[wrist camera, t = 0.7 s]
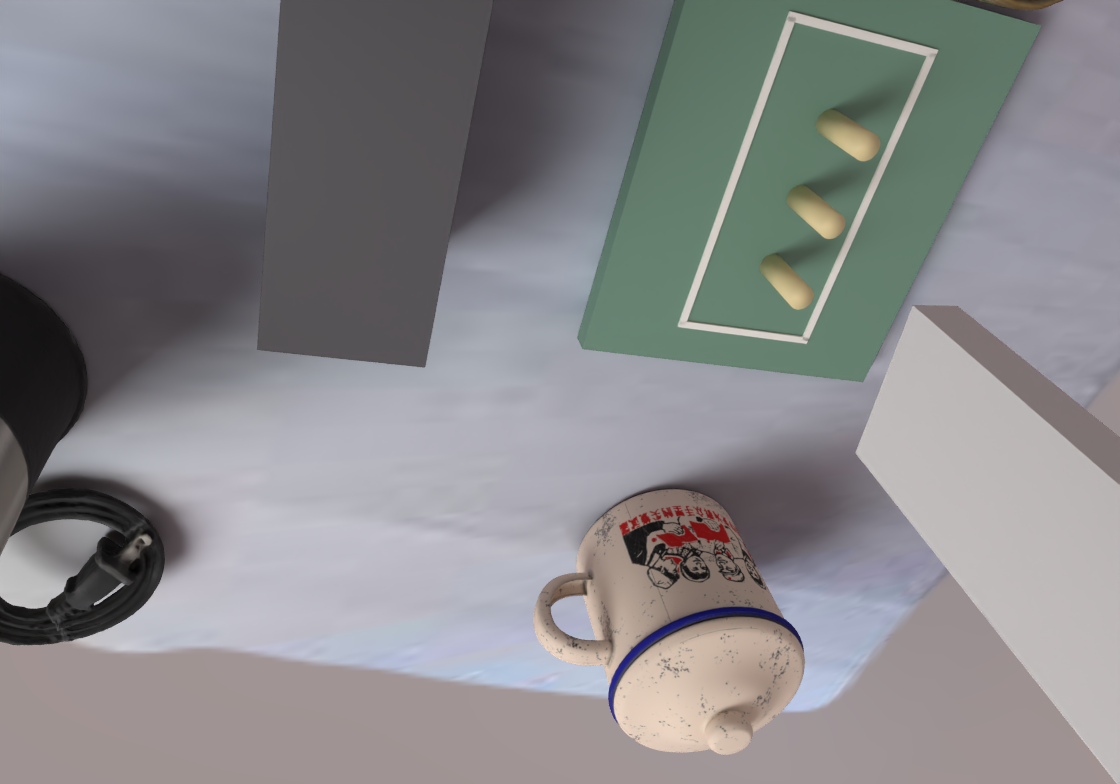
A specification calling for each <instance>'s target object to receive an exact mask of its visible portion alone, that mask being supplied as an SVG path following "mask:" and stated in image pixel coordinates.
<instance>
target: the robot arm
mask: <svg viewBox="0 0 1120 784" xmlns="http://www.w3.org/2000/svg"><path fill="white" fill-rule="evenodd" d="M856 454H857V456H858V457H859V458H860V459H861V461H862V462H863V463H864V464H865V466H866V467H867V468H868V470H869V471H870V472H871V473H872V475H873V476H874V477H875V478H876V480H877V481H878V482H879V483H880V485H881V486H882V487H883V488H884V490H885V491H886V492H887V494H888V495H889V496H890V497H891V499H892V500H893V501H894V502H895V504H896V505H897V506H898V507H899V509H900V510H901V511H902V513H903V514H904V515H905V516H906V518H907V519H908V520H909V521H910V523H911V524H912V525H913V526H914V528H915V529H916V530H917V531H918V533H919V534H920V535H921V537H922V538H923V539H924V540H925V542H926V543H927V544H928V545H929V547H930V548H931V549H932V550H933V552H934V553H935V554H936V556H937V557H938V558H939V559H940V561H941V562H942V563H943V564H944V566H945V567H946V568H947V569H948V571H949V572H950V573H951V574H952V576H953V577H954V578H955V579H956V581H957V582H958V583H959V585H960V586H961V587H962V588H963V590H964V591H965V592H966V593H967V595H968V596H969V597H970V598H971V600H972V601H973V602H974V604H975V605H976V606H977V607H978V609H979V610H980V611H981V612H982V613H983V615H984V616H985V617H986V619H987V620H988V621H989V623H990V624H991V625H992V626H993V628H994V629H995V630H996V631H997V633H998V634H999V635H1000V636H1001V638H1002V639H1003V640H1004V641H1005V643H1006V644H1007V645H1008V647H1009V648H1010V649H1011V650H1012V652H1013V653H1014V654H1015V655H1016V657H1017V658H1018V659H1019V661H1020V662H1021V663H1022V664H1023V665H1024V667H1025V668H1026V669H1027V671H1028V672H1029V673H1030V674H1031V676H1032V677H1033V678H1034V679H1035V681H1036V682H1037V683H1038V685H1040V687H1041V688H1042V690H1043V691H1044V692H1045V693H1046V695H1047V696H1048V697H1049V698H1050V700H1051V701H1052V702H1053V703H1054V705H1055V706H1056V707H1057V708H1058V710H1059V711H1060V712H1061V714H1062V715H1063V716H1064V717H1065V719H1066V720H1067V721H1068V722H1069V724H1070V725H1071V726H1072V727H1073V729H1074V730H1075V731H1076V733H1077V734H1078V735H1079V736H1080V738H1081V739H1082V740H1083V741H1084V743H1085V744H1086V745H1087V747H1088V748H1089V749H1090V750H1091V752H1092V753H1093V754H1094V755H1095V757H1096V758H1097V759H1098V760H1099V762H1100V763H1101V764H1102V765H1103V767H1104V768H1105V769H1106V771H1107V772H1108V773H1109V774H1110V776H1111V777H1112V778H1113V779H1114V781H1115V782H1116V783H1117V784H1120V437H1119V436H1118V435H1116V434H1115V433H1114V432H1113V431H1112V430H1110V429H1109V428H1108V427H1107V426H1105V425H1104V424H1103V423H1102V422H1100V421H1099V420H1098V419H1097V418H1095V417H1094V416H1093V415H1092V414H1090V413H1089V412H1088V411H1087V410H1086V409H1084V408H1083V407H1082V406H1081V405H1079V404H1078V403H1077V402H1076V401H1074V400H1073V399H1072V398H1071V397H1069V396H1068V395H1067V394H1066V393H1065V392H1063V391H1062V390H1061V389H1060V388H1058V387H1057V386H1056V385H1055V384H1053V383H1052V382H1051V381H1050V380H1048V379H1047V378H1046V377H1045V376H1043V375H1042V374H1041V373H1040V372H1039V371H1037V370H1036V369H1035V368H1034V367H1032V366H1031V365H1030V364H1029V363H1027V362H1026V361H1025V360H1024V359H1022V358H1021V357H1020V356H1019V355H1017V354H1016V353H1015V352H1014V351H1013V350H1011V349H1010V348H1009V347H1008V346H1006V345H1005V344H1004V343H1003V342H1001V341H1000V340H999V339H998V338H996V337H995V336H994V335H993V334H992V333H990V332H989V331H988V330H987V329H985V328H984V327H983V326H982V325H980V324H979V323H978V322H977V321H975V320H974V319H973V318H972V317H970V316H969V315H968V314H967V313H966V312H964V311H963V310H962V309H961V308H959V307H958V306H926V305H913V306H912V309H911V312H910V314H909V317H908V319H907V322H906V324H905V327H904V330H903V332H902V335H901V337H900V340H899V342H898V345H897V348H896V350H895V353H894V355H893V358H892V360H891V363H890V366H889V368H888V371H887V373H886V376H885V378H884V381H883V384H882V386H881V389H880V391H879V394H878V396H877V399H876V402H875V404H874V407H873V409H872V412H871V414H870V417H869V420H868V422H867V425H866V427H865V430H864V432H863V435H862V438H861V440H860V443H859V445H858V448H857V450H856Z"/></svg>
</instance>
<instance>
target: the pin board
mask: <svg viewBox="0 0 1120 784" xmlns="http://www.w3.org/2000/svg"><path fill="white" fill-rule="evenodd" d="M1041 27H1042V26H1040V25H1037V24H1033V23H1030V22H1027V21H1023V20H1020V19H1016V18H1013V17H1009V16H1006V15H1002V14H999V13H995V12H992V11H988V10H985V9H981V8H978V7H974V6H970V5H967V4H963V3H960V2H956V1H953V0H675V1H674V5H673V8H672V11H671V15H670V18H669V22H668V25H667V29H666V32H665V36H664V39H663V43H662V46H661V50H660V53H659V57H658V60H657V63H656V67H655V70H654V74H653V77H652V81H651V84H650V88H649V91H648V95H647V98H646V102H645V105H644V109H643V112H642V115H641V119H640V122H639V126H638V129H637V133H636V136H635V140H634V143H633V147H632V150H631V154H630V157H629V161H628V164H627V167H626V171H625V174H624V178H623V181H622V185H621V188H620V192H619V195H618V199H617V202H616V206H615V209H614V213H613V216H612V219H611V223H610V226H609V230H608V233H607V237H606V240H605V244H604V247H603V251H602V254H601V258H600V261H599V265H598V268H597V271H596V275H595V278H594V282H593V285H592V289H591V292H590V296H589V299H588V303H587V306H586V310H585V313H584V317H583V320H582V323H581V327H580V330H579V334H578V340H579V342H580V344H581V347H582V349H586V350H595V351H603V352H612V353H620V354H629V355H637V356H646V357H654V358H663V359H671V360H680V361H688V362H697V363H705V364H714V365H722V366H731V367H739V368H748V369H756V370H764V371H773V372H781V373H790V374H798V375H807V376H815V377H824V378H832V379H841V380H849V381H858V382H863V381H864V379H865V377H866V375H867V373H868V371H869V369H870V367H871V365H872V363H873V361H874V359H875V357H876V355H877V353H878V351H879V349H880V347H881V345H882V343H883V341H884V339H885V337H886V335H887V333H888V331H889V329H890V327H891V325H892V323H893V321H894V319H895V317H896V315H897V313H898V311H899V309H900V307H901V305H902V303H903V301H904V299H905V298H906V296H907V294H908V292H909V290H910V288H911V286H912V284H913V282H914V280H915V278H916V276H917V274H918V272H919V270H920V268H921V266H922V264H923V262H924V260H925V258H926V256H927V254H928V252H929V250H930V248H931V246H932V244H933V242H934V240H935V238H936V236H937V234H938V232H939V230H940V228H941V226H942V224H943V222H944V220H945V218H946V216H947V214H948V212H949V210H950V208H951V206H952V204H953V202H954V200H955V198H956V196H957V194H958V192H959V190H960V188H961V186H962V184H963V182H964V180H965V178H966V176H967V174H968V172H969V170H970V168H971V166H972V164H973V162H974V160H975V158H976V156H977V154H978V152H979V150H980V148H981V146H982V144H983V142H984V140H985V138H986V136H987V134H988V132H989V130H990V128H991V126H992V124H993V122H994V120H995V118H996V116H997V114H998V112H999V110H1000V108H1001V106H1002V104H1003V102H1004V100H1005V98H1006V96H1007V94H1008V92H1009V90H1010V88H1011V86H1012V84H1013V82H1014V80H1015V78H1016V76H1017V74H1018V72H1019V70H1020V68H1021V66H1022V64H1023V62H1024V60H1025V58H1026V56H1027V54H1028V52H1029V51H1030V49H1031V47H1032V45H1033V43H1034V41H1035V39H1036V37H1037V35H1038V33H1039V31H1040V29H1041Z"/></svg>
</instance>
